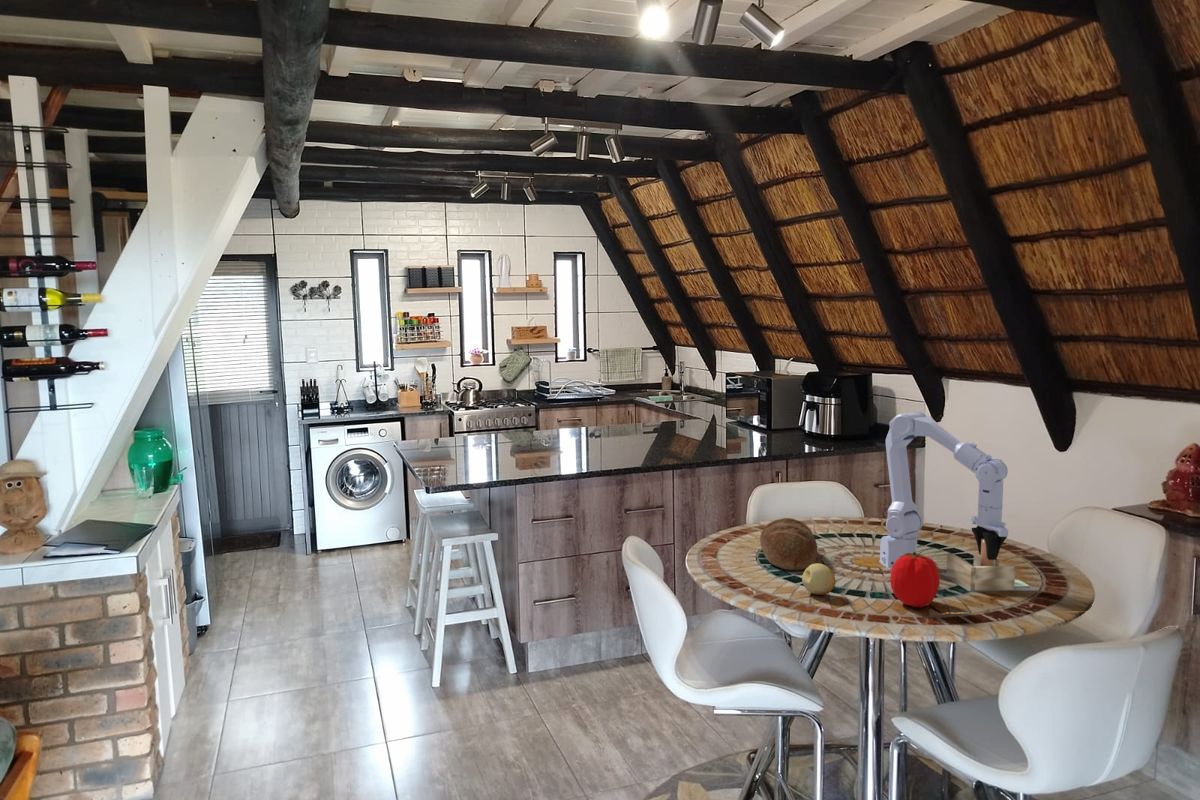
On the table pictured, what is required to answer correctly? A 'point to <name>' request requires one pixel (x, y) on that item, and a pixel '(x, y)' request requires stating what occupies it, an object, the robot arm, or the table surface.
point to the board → (995, 590)
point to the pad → (1020, 584)
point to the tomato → (915, 579)
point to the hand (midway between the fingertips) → (987, 557)
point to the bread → (789, 544)
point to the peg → (985, 555)
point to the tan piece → (980, 574)
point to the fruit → (818, 579)
